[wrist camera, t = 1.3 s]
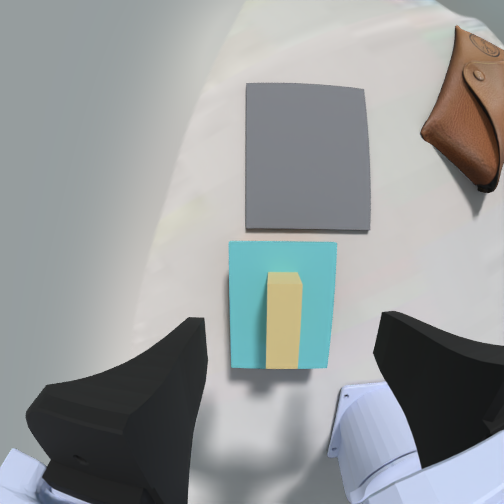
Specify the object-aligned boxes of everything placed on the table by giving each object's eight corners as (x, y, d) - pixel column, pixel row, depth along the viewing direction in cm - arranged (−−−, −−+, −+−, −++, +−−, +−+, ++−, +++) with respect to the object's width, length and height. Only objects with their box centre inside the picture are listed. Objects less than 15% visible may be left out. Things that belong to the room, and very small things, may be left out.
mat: (368, 229, 20) (370, 230, 20) (246, 227, 21) (245, 228, 20) (362, 90, 18) (363, 89, 18) (246, 84, 19) (246, 83, 19)
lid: (325, 362, 19) (335, 392, 15) (232, 362, 19) (225, 391, 16) (334, 241, 18) (349, 249, 14) (230, 240, 18) (220, 248, 15)
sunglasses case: (452, 19, 16) (503, 17, 10) (477, 64, 19) (523, 68, 14) (415, 138, 19) (488, 152, 13) (445, 182, 22) (503, 201, 17)
